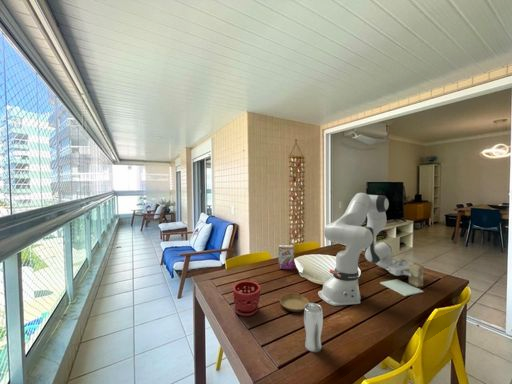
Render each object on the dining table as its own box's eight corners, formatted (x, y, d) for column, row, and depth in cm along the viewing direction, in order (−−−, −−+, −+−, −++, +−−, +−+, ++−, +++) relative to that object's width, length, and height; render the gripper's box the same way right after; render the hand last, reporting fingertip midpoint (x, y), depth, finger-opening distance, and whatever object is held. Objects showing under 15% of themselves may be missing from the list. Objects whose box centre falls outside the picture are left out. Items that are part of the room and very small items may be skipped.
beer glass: (322, 355, 77) (322, 314, 77) (302, 350, 80) (302, 310, 79) (323, 342, 84) (323, 304, 83) (305, 337, 87) (305, 301, 86)
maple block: (416, 287, 127) (417, 267, 127) (408, 283, 132) (409, 264, 132) (423, 285, 129) (423, 266, 128) (414, 282, 134) (415, 263, 133)
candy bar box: (278, 269, 156) (278, 246, 155) (278, 266, 161) (278, 244, 160) (294, 269, 154) (294, 247, 154) (293, 267, 159) (293, 245, 159)
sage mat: (404, 296, 117) (404, 295, 117) (379, 283, 133) (380, 282, 132) (423, 292, 121) (423, 291, 121) (397, 280, 137) (397, 279, 137)
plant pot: (230, 318, 100) (230, 292, 99) (236, 302, 113) (236, 280, 112) (258, 320, 98) (258, 294, 97) (261, 304, 111) (261, 281, 110)
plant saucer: (309, 300, 115) (309, 295, 114) (308, 316, 100) (308, 311, 100) (282, 296, 119) (282, 291, 119) (277, 311, 105) (277, 306, 104)
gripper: (383, 263, 140) (403, 271, 127) (406, 259, 146) (428, 266, 133) (383, 272, 140) (403, 281, 127) (406, 268, 146) (428, 277, 133)
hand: (416, 274), depth 130 cm, fingers open, 6 cm apart
